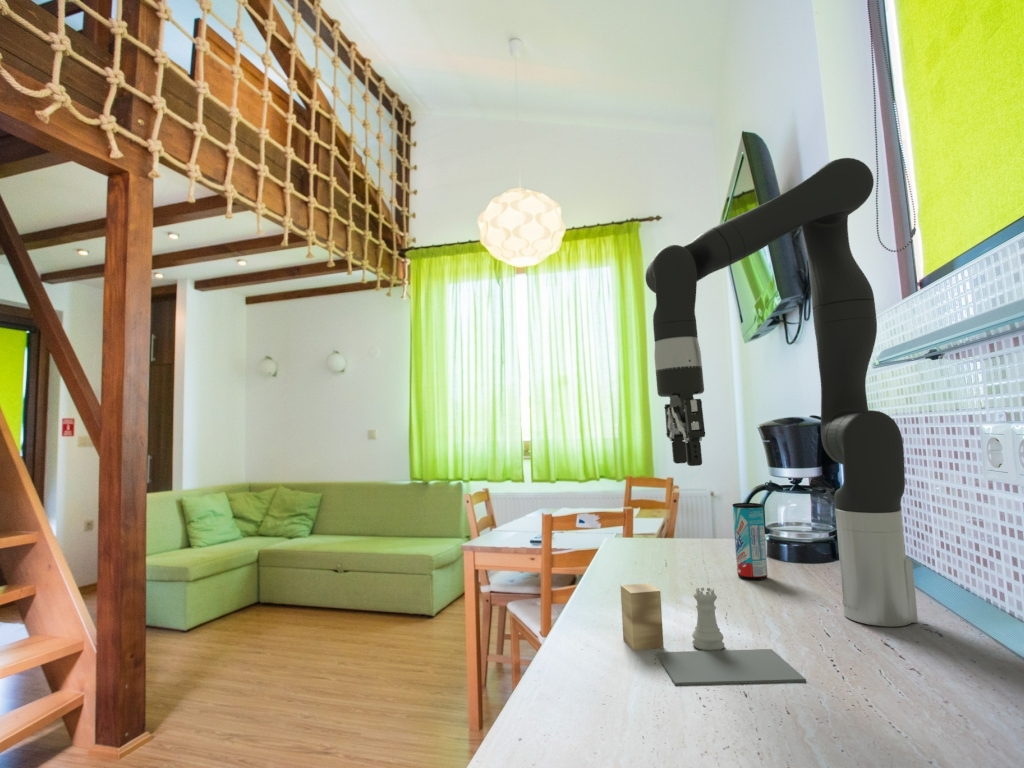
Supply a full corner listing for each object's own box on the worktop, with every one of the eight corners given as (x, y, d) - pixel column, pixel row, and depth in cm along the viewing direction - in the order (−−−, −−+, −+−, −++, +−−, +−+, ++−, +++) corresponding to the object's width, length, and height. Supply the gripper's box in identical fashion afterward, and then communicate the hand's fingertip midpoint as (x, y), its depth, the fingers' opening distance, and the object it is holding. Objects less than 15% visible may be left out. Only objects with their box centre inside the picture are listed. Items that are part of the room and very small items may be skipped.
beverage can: (741, 572, 125) (736, 502, 127) (770, 575, 122) (765, 503, 123) (733, 578, 120) (728, 505, 122) (764, 582, 117) (758, 506, 118)
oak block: (651, 637, 88) (648, 583, 89) (663, 647, 84) (660, 590, 85) (623, 639, 88) (620, 585, 88) (633, 650, 83) (630, 593, 84)
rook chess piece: (727, 653, 81) (723, 594, 82) (693, 651, 82) (690, 593, 83) (722, 641, 85) (718, 585, 86) (690, 640, 86) (687, 585, 87)
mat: (771, 651, 81) (771, 648, 81) (806, 681, 71) (805, 679, 71) (656, 654, 81) (656, 652, 81) (674, 685, 71) (674, 682, 71)
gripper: (714, 360, 90) (724, 465, 89) (688, 370, 104) (697, 461, 103) (666, 363, 90) (675, 468, 89) (647, 373, 104) (654, 463, 103)
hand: (687, 464), depth 96 cm, fingers open, 8 cm apart
